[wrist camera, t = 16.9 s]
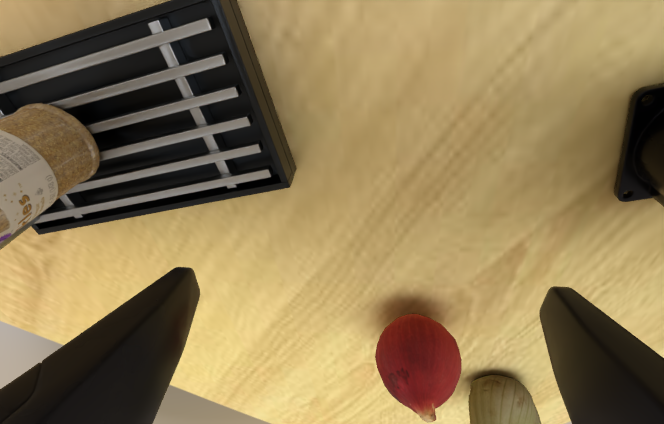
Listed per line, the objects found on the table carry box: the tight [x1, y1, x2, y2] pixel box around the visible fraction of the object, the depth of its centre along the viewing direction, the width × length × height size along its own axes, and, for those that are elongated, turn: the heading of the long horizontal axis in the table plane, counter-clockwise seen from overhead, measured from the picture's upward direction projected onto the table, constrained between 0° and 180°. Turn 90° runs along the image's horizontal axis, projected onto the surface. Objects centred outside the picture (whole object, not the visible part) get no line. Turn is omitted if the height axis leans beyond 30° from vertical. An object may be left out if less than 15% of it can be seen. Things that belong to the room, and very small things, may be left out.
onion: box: [375, 313, 461, 422], centre depth 26 cm, size 6×6×8 cm
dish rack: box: [0, 0, 296, 250], centre depth 19 cm, size 10×18×8 cm, turn 105°
